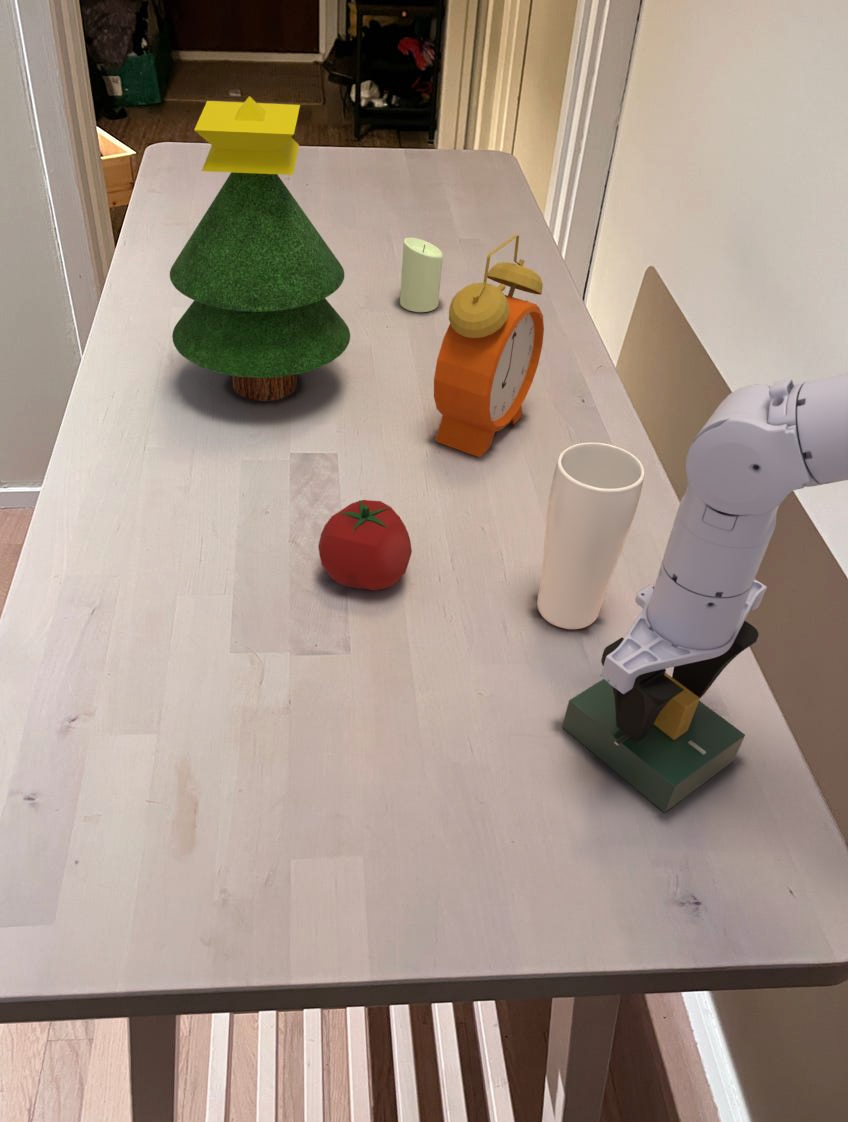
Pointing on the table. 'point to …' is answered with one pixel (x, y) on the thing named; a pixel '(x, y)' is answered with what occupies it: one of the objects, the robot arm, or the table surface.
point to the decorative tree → (256, 261)
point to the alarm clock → (488, 356)
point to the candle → (420, 275)
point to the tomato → (365, 546)
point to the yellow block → (677, 712)
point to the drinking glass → (586, 530)
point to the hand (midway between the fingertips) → (657, 712)
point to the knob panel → (653, 747)
